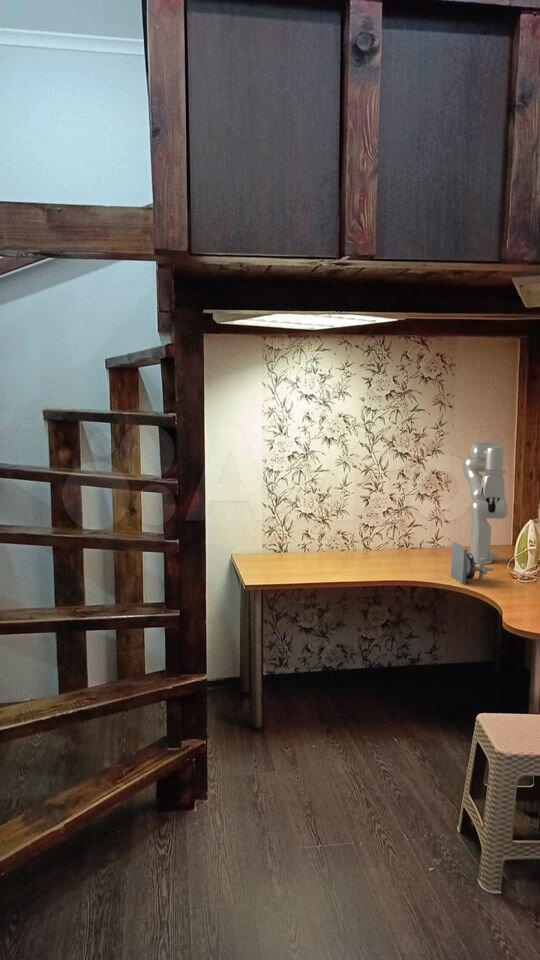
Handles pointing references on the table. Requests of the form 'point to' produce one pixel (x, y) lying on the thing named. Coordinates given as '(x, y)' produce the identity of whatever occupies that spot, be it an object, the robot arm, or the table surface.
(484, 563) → the robot arm
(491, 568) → the pipe connector
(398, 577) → the table surface
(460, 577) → the mounting panel
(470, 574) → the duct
